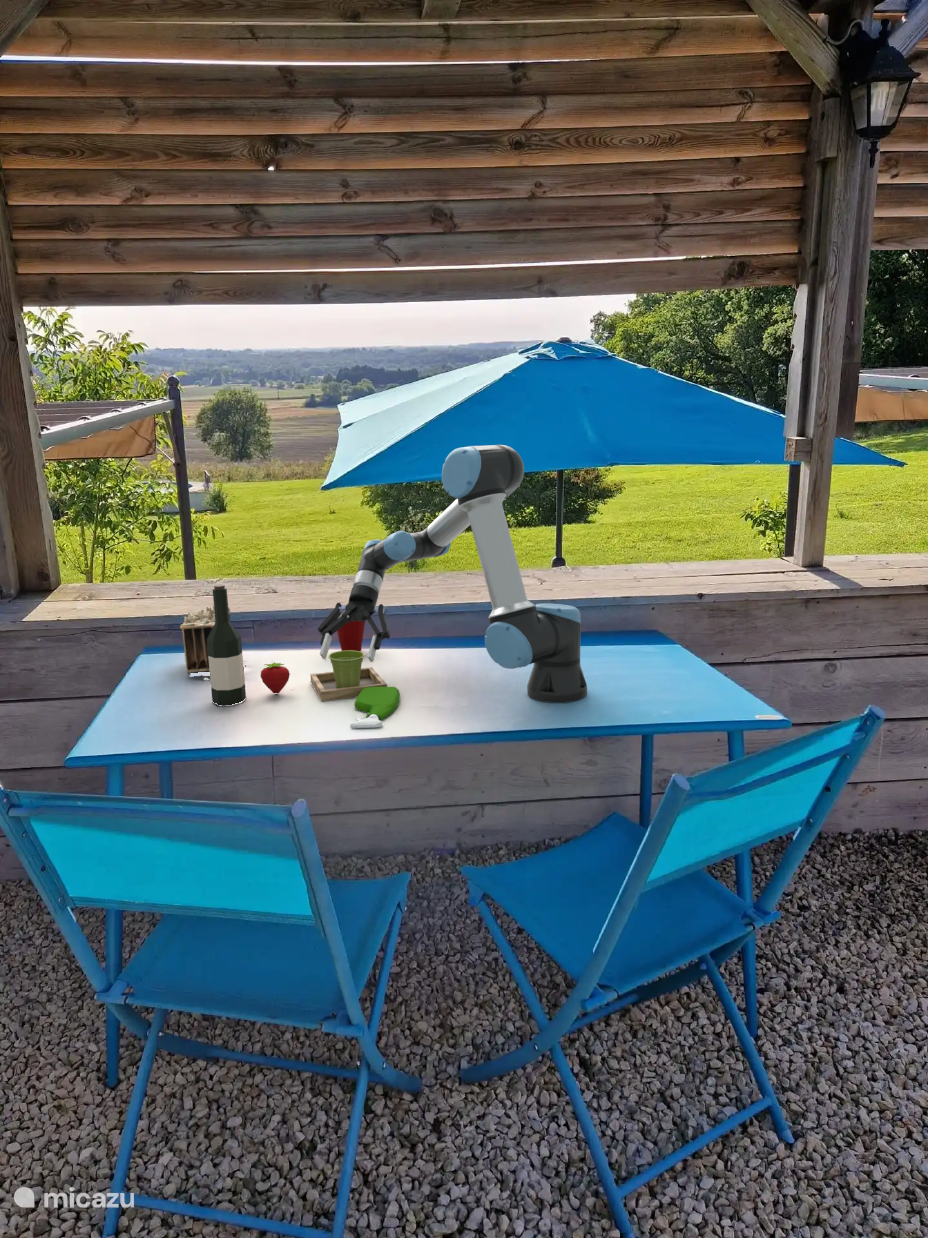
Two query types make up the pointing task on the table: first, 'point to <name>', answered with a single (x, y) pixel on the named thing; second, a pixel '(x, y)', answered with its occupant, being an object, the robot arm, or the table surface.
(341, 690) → the square wooden tray
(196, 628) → the wooden crate with straw
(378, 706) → the spray bottle
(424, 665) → the table surface
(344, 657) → the plant pot
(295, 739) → the table surface
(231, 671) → the wine bottle
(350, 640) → the plastic cup
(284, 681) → the strawberry
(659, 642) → the table surface
